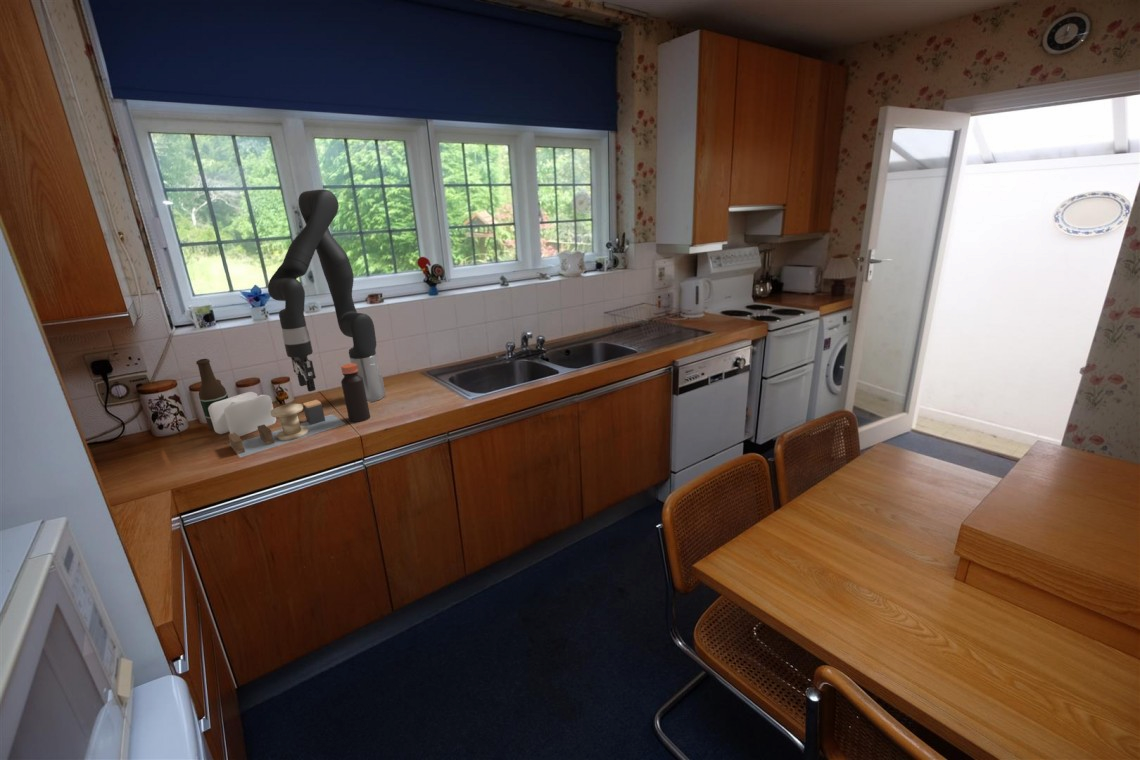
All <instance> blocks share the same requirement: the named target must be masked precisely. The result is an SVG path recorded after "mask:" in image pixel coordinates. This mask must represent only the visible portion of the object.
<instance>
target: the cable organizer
mask: <svg viewBox="0 0 1140 760" xmlns="http://www.w3.org/2000/svg"><path fill="white" fill-rule="evenodd" d="M273 405H274V404H273V401H272V397H271V396H270V395H268V394H260V395H258V394H257V393H256V392H253V391H246V392H244V393H240V394H237V395H234V396H231V397H228V398H227V399H224V400H221V401H218V402H214V403H212V404H211V405H210V406H209V407H208V411H209V414H210V417H211V420H212V424H213V427H214V430H213V431H214V432H215V433H216V434H218V435H222V434H226V433H229V434H232V433H236V434H237V435H238V436H239V438H241V437H242V436H245V435H247V434H250V433H253V432H255V431H258V427H257V426H260V425H265V426H266V427H267V428H268V427H269V426H272V425H274V424H275V423H276V422H277V417H272V416H271V413H270V412H271V410H273V409H274V408H275V407H274V406H273Z"/></svg>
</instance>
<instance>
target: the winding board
mask: <svg viewBox="0 0 1140 760" xmlns="http://www.w3.org/2000/svg"><path fill="white" fill-rule="evenodd" d="M324 417H325V421H323V422H319V423H316V424H313V425H311V424H310V423H308V422H307V421H304V422H301V423H300V426H306V427H308V430H309V432H308V434H307V435H305V436H303V437H301V438H298V439H295V440H290V441H280V440H278V439H277V434H278V433H279V432H280V431H282V430H283V429H282V428H281V429H278V430H275V431H271V432H272V436H273V439H274V443H273V444H269V445H267V444H266V443H265V442H264V441H263V440H262V439H261V438H260V435H258V436H255V437H251V438H248V439H244V440H242V443H243V446H244V450H245V452H244V453H241V454H237V453H236V455H237V456H238V457H239V459H240V458H243V457H247V456H250V455H254V454H256V453H260V452H263V451H267V450H268V449H272V448H275V447H278V446H281V445H284V444H287V443H292V442H294V441H297V440H300V439H304V438H306V437H310V436H313V435H316V434H319V433H323V432H326V431H329V430H332V429H335V428H339V427H342V426H345V425H347V423H345V422H344V421H343V420H341V419H340V418H339V417H337V416H336V415H334V414H329V415H324Z"/></svg>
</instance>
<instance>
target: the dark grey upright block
mask: <svg viewBox="0 0 1140 760" xmlns="http://www.w3.org/2000/svg"><path fill="white" fill-rule="evenodd" d="M302 406H303V411H304V414H305V419H306V422H308V423H310V424H311V425H313V424H316V423H319V422H323V421H325V417H324V416H325V414H324V410H323V409H324V408H323V405H322V402H321V401H320V400H318V399H314V400H311V401H307V402H303V403H302Z"/></svg>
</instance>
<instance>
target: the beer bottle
mask: <svg viewBox="0 0 1140 760" xmlns="http://www.w3.org/2000/svg"><path fill="white" fill-rule="evenodd" d="M210 362H211V360H210V359H208V358H201V359H197V360H196V362H195V363H196V365H197V366H198V367H197V368H198V371H199V372H198V373H199V376H200V381H201V382H200V383H201V385H200V387H199V390H198V398H199V401H200V405H201V408H202V411H203V414H204V417H205V420H206V423H207V426H208V428H209V430H211V429H212V431H215V430H214V427H213V424H212V420H211V417H210V414H209V411H208V407H209V406H210V405H211V404H212V403H214V402H218V401H221V400H224V399H227V398H229V395H228V392H227V390H226V387H225V386H224V385H223V384H222V383H220V382H219V381H217V380H218V379H217V378H216V377H215V373H214V371H213V369H212V366H211V364H210Z"/></svg>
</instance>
